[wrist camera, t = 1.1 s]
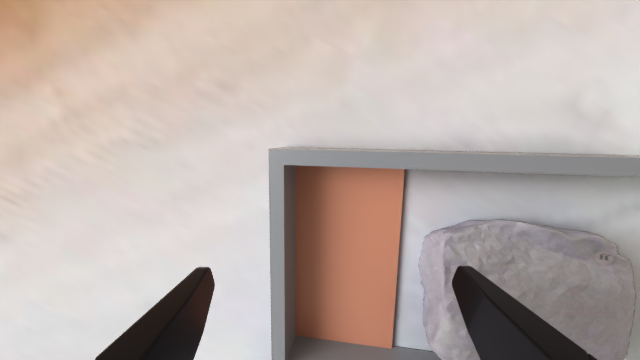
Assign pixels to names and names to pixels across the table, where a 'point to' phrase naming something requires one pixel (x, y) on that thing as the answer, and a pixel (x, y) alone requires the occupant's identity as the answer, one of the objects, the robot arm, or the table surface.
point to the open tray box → (363, 240)
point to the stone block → (530, 283)
